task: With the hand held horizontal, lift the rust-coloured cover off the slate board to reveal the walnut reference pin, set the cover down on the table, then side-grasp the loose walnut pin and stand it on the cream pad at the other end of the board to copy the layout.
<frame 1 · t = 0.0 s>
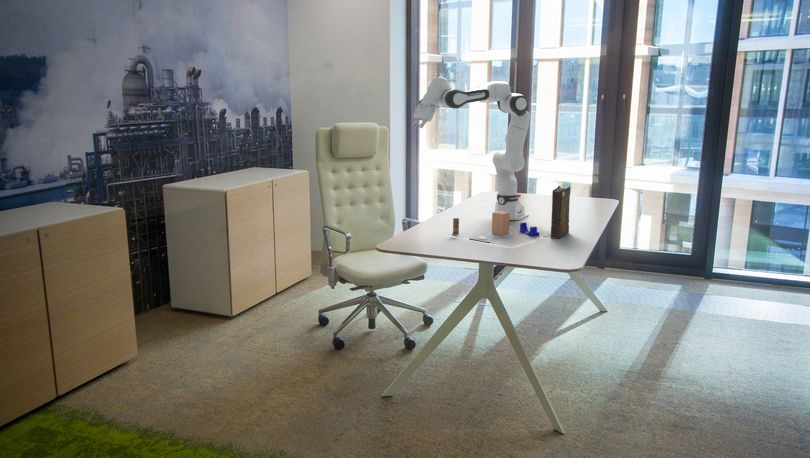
hand: (417, 127, 348), 54 cm above the table, tool tilted 30°, fingers open, 8 cm apart
pin: (455, 235, 335), on the table
book: (558, 235, 334), on the table
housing: (500, 233, 335), point 1 cm above the table, touching board
board: (491, 237, 329), on the table
cable clip: (529, 236, 334), on the table
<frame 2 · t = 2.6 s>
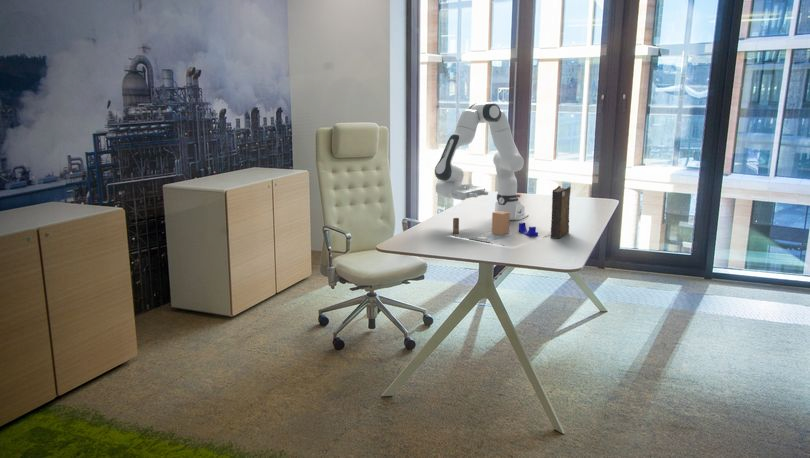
hand: (482, 194, 339), 20 cm above the table, tool horizontal, fingers open, 8 cm apart
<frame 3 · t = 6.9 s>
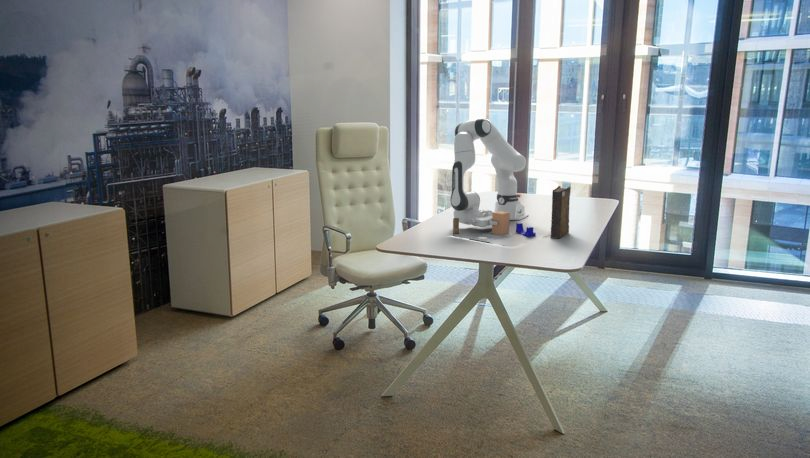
hand: (502, 222, 333), 7 cm above the table, tool horizontal, fingers closed on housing, 6 cm apart
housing: (500, 233, 335), point 1 cm above the table, touching board, gripper
cable clip: (525, 236, 333), on the table
everything else where it was.
when the fingers open (7 cm above the table, at t = 11.7 s): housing drops 1 cm, on the table.
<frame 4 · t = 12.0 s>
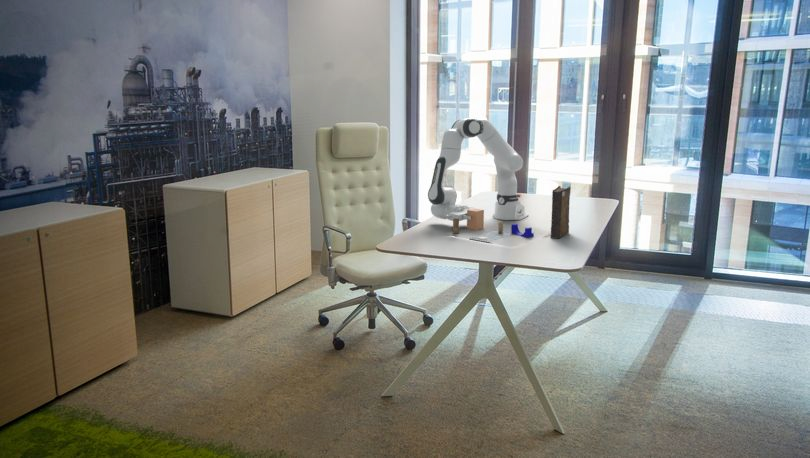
hand: (476, 216, 345), 7 cm above the table, tool horizontal, fingers open, 8 cm apart
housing: (475, 229, 347), on the table
cable clip: (522, 237, 331), on the table
everything else where it was.
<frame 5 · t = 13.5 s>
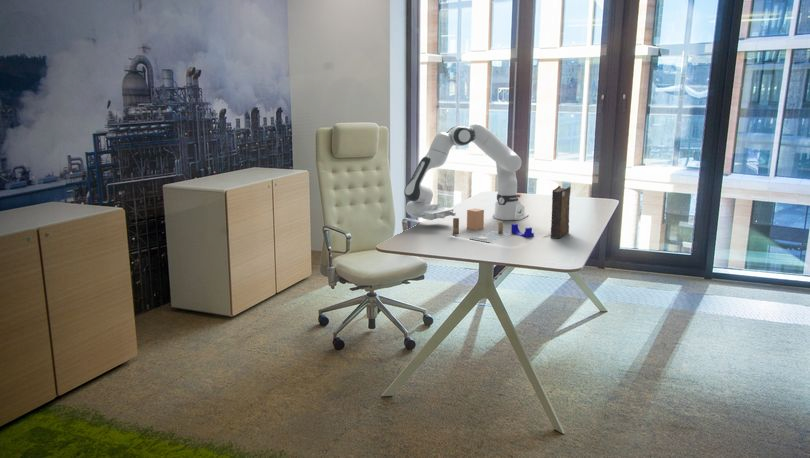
hand: (449, 215, 349), 7 cm above the table, tool horizontal, fingers open, 8 cm apart
nothing on the table moved.
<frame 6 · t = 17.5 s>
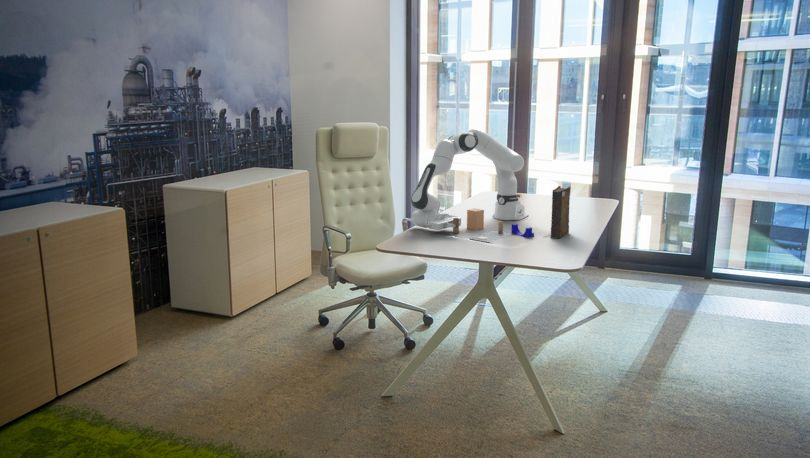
hand: (457, 225, 333), 6 cm above the table, tool horizontal, fingers closed on pin, 3 cm apart
pin: (455, 235, 335), on the table, touching gripper
everything else where it was.
when the fingers open (8 cm above the table, at t = 22.8 s): pin stays where it is, resting on board.
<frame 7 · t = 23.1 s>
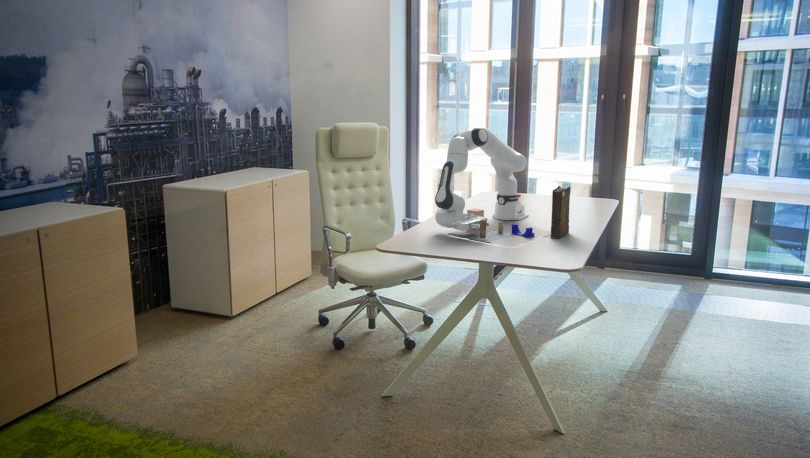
hand: (484, 225, 321), 8 cm above the table, tool horizontal, fingers open, 6 cm apart
pin: (482, 237, 323), point 1 cm above the table, touching board
everything else where it was.
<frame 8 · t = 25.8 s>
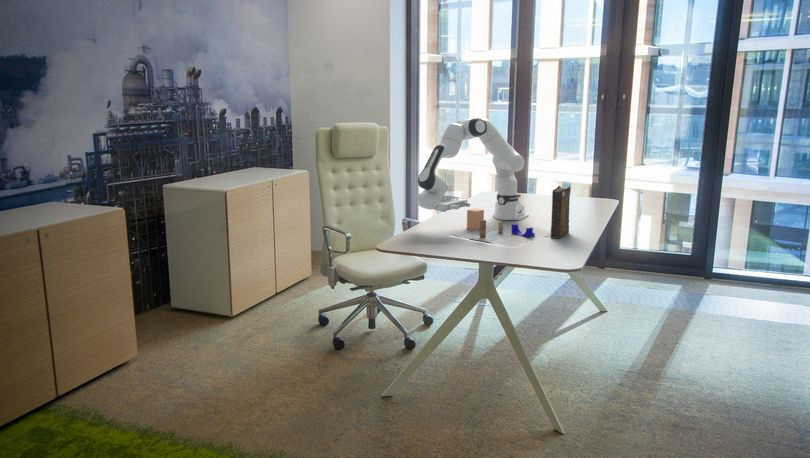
hand: (463, 206, 328), 16 cm above the table, tool horizontal, fingers open, 8 cm apart
nothing on the table moved.
at the end: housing moved 17.1 cm from its start; pin 0.1 cm from the target spot on the board, point 1.3 cm above the board's base; pin tilted 0° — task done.
